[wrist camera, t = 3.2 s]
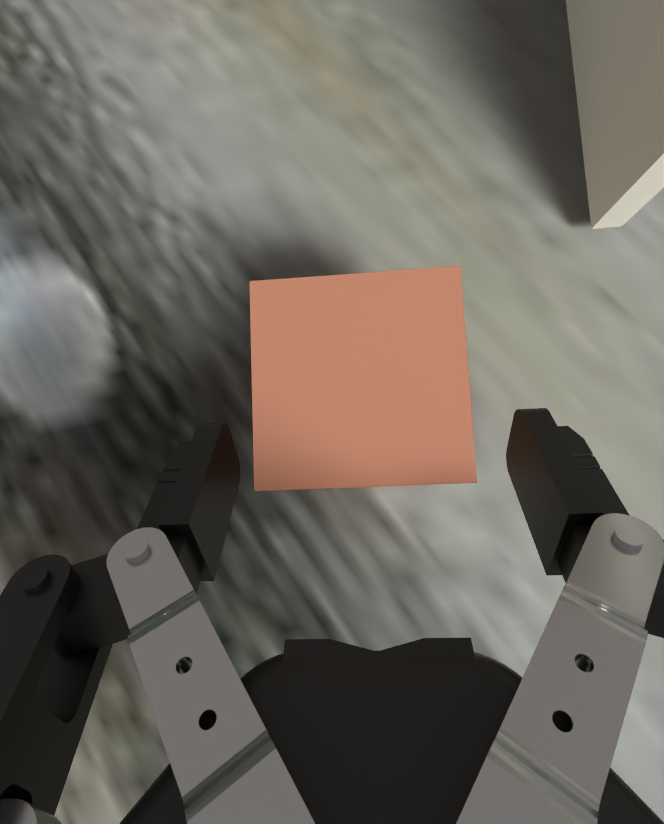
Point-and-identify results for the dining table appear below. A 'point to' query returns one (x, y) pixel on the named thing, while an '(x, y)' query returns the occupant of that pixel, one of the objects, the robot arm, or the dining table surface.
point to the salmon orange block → (360, 381)
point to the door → (619, 103)
